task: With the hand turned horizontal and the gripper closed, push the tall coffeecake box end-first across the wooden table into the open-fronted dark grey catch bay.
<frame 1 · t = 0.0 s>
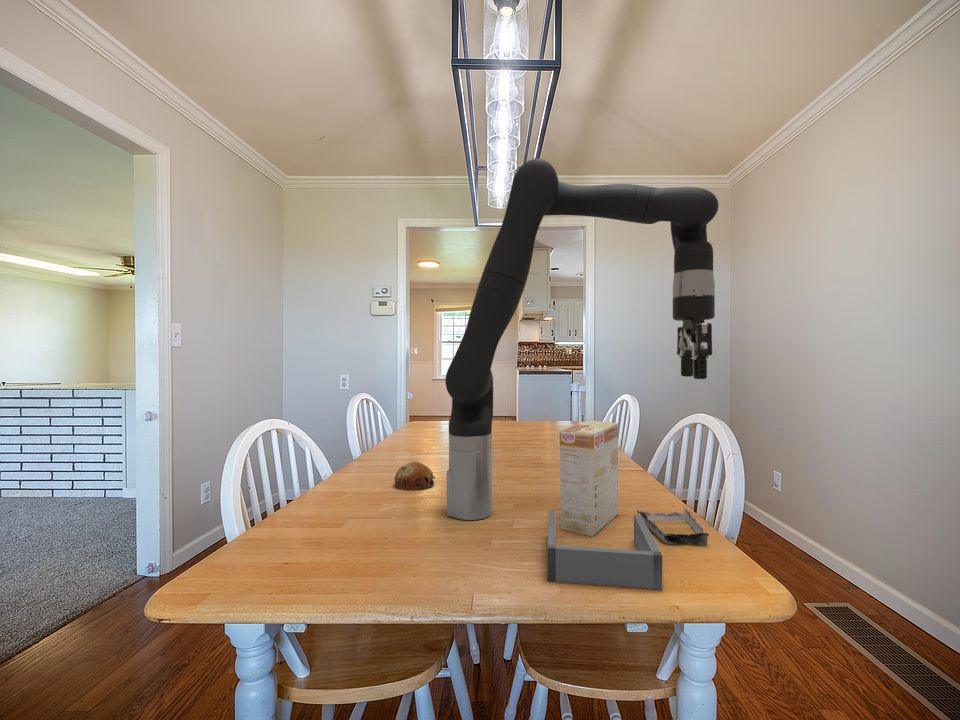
hand: (693, 377, 89), 29 cm above the table, tool pointing down, fingers open, 8 cm apart
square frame: (672, 534, 86), on the table
bread roll: (415, 486, 117), on the table
catch bay: (598, 558, 75), on the table
coffeecake box: (590, 522, 91), on the table
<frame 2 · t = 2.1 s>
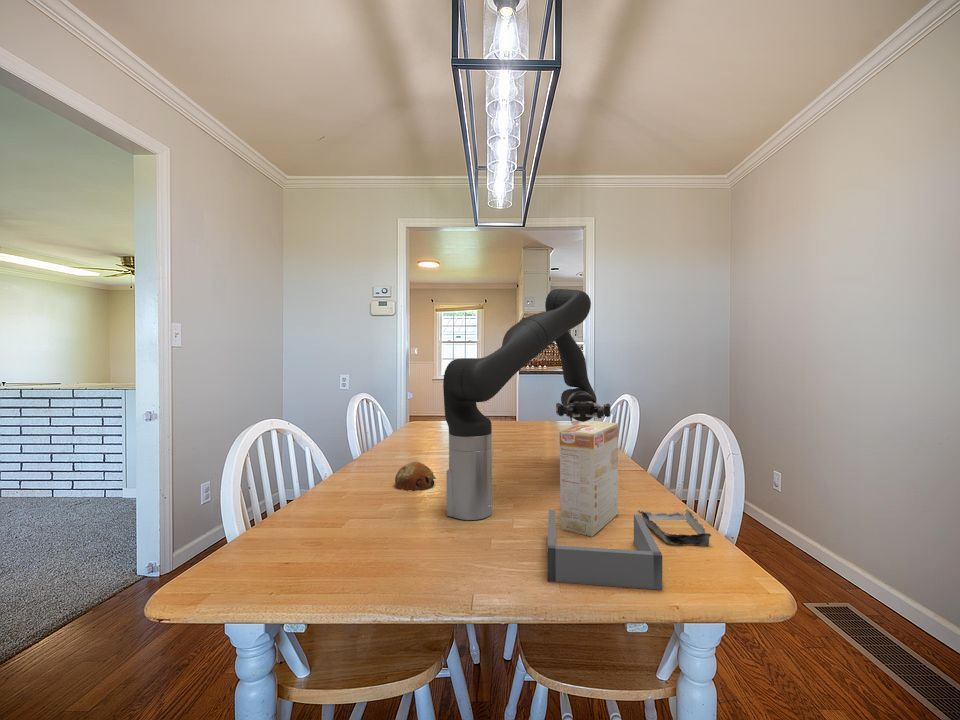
hand: (585, 413, 106), 20 cm above the table, tool horizontal, fingers open, 6 cm apart
nothing on the table moved.
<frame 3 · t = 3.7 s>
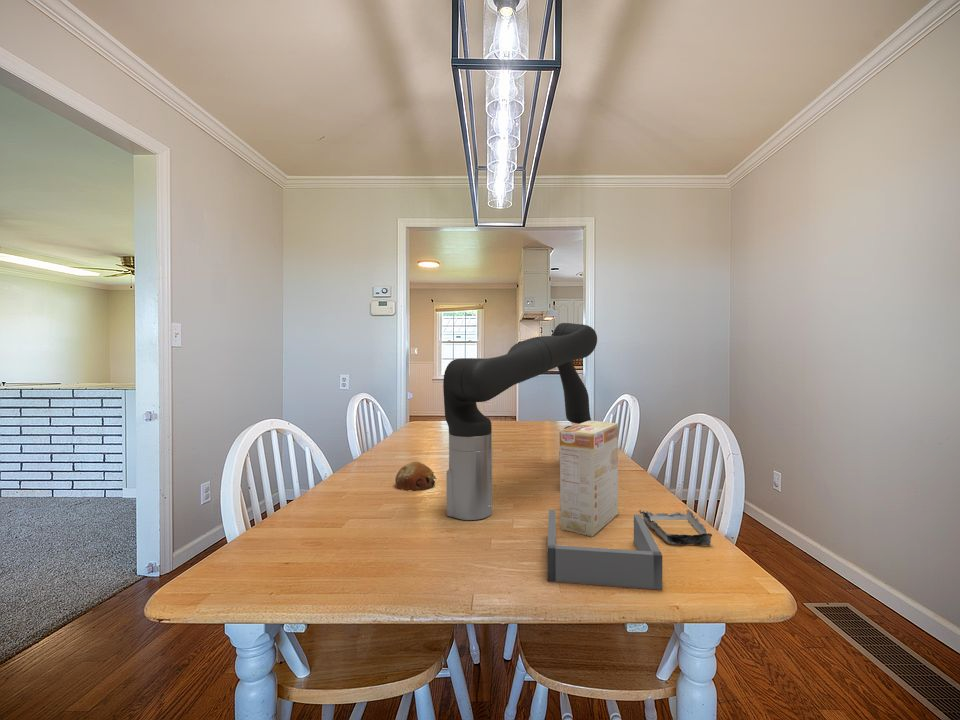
hand: (586, 465, 104), 8 cm above the table, tool horizontal, fingers closed
nothing on the table moved.
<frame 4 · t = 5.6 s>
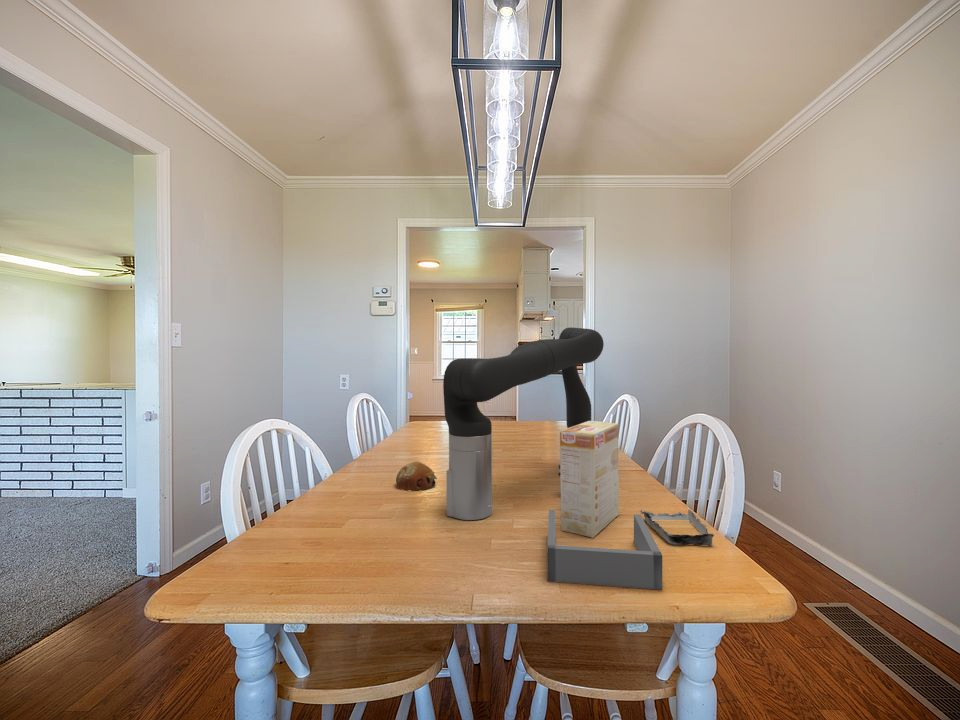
hand: (587, 481, 99), 6 cm above the table, tool horizontal, fingers closed
coffeecake box: (590, 523, 91), on the table, touching gripper
everything else where it was.
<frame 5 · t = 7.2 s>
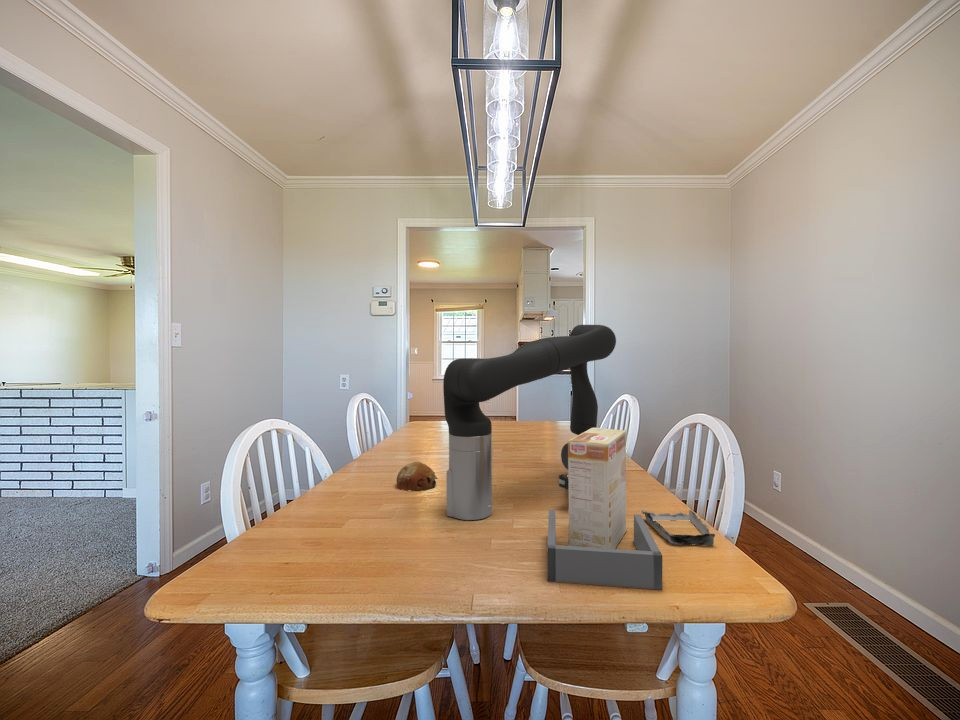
hand: (590, 494, 90), 6 cm above the table, tool horizontal, fingers closed
coffeecake box: (598, 542, 82), on the table, touching gripper
everything else where it was.
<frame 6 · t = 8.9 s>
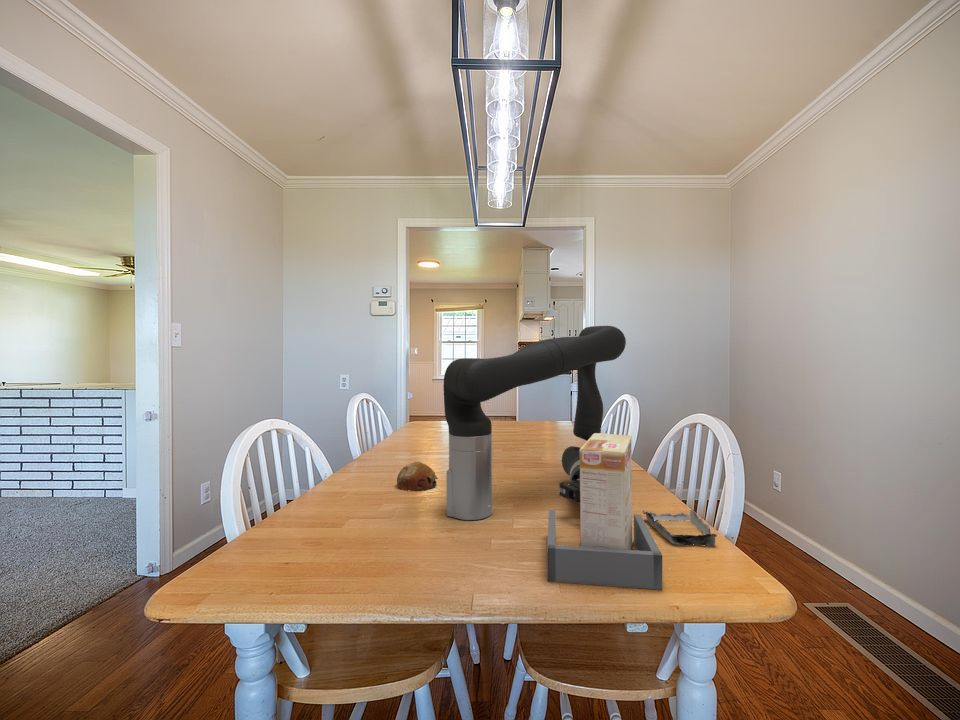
hand: (593, 504, 84), 6 cm above the table, tool horizontal, fingers closed
coffeecake box: (607, 557, 76), on the table, touching gripper
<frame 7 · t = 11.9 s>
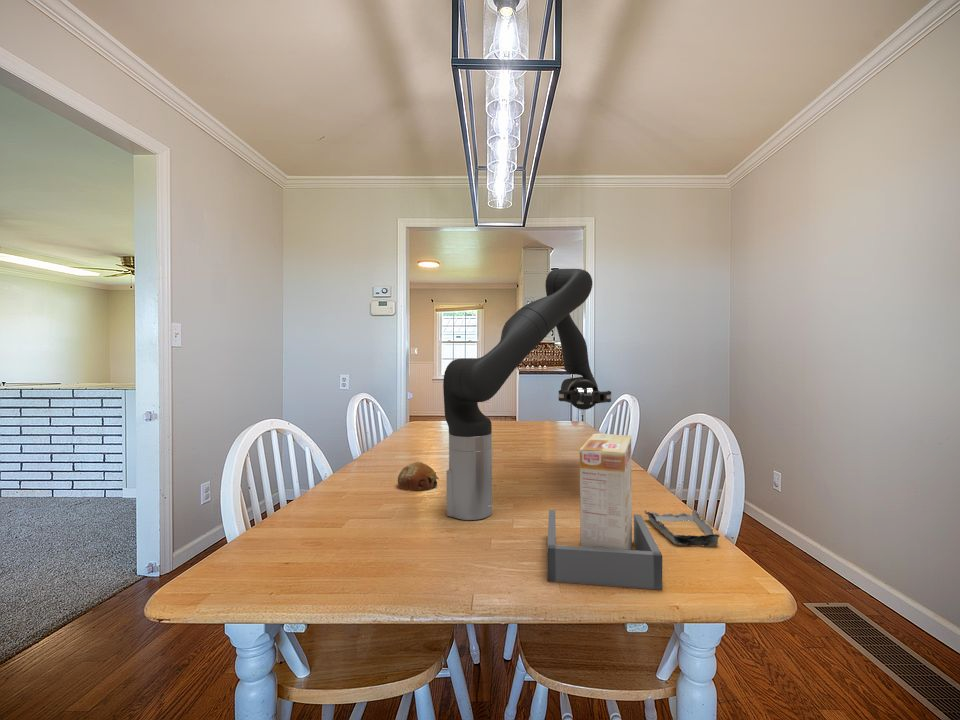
hand: (587, 399, 99), 24 cm above the table, tool horizontal, fingers closed
coffeecake box: (607, 558, 75), on the table
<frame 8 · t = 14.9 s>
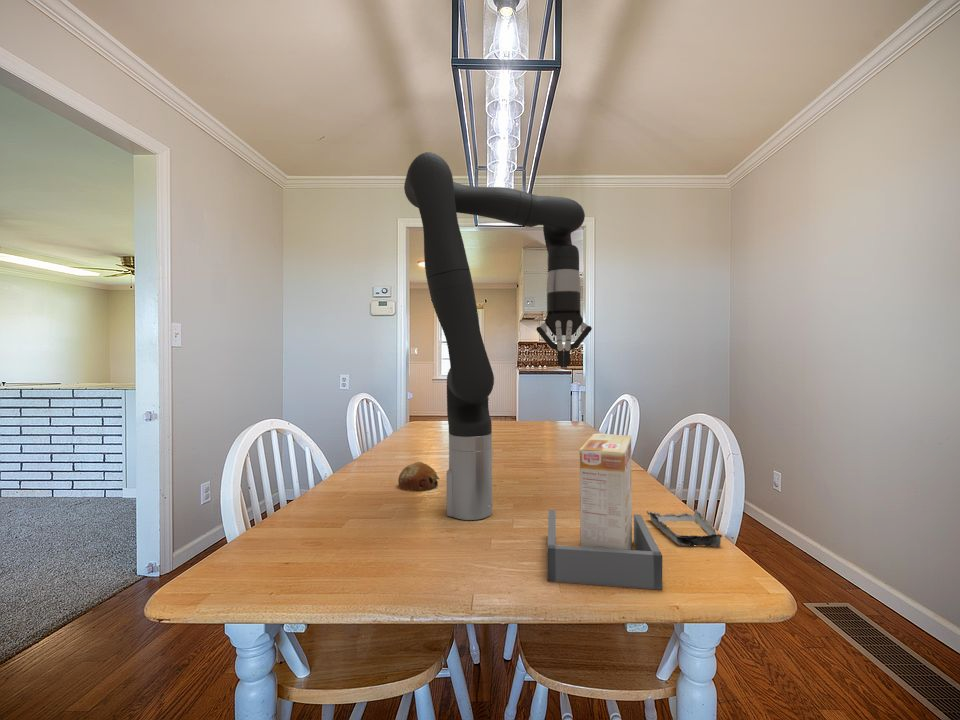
hand: (563, 367, 103), 31 cm above the table, tool pointing down, fingers closed
at the end: coffeecake box inside the target area (1.7 cm from its centre), on the table; coffeecake box tilted 0° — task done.
